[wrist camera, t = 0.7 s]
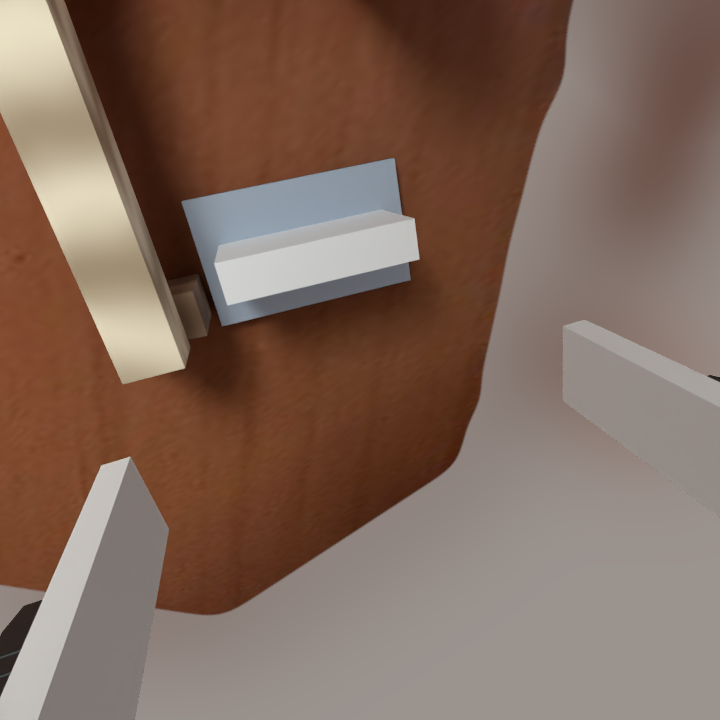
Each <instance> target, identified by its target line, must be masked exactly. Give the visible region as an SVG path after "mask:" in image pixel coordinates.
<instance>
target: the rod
mask: <svg viewBox="0 0 720 720" xmlns="http://www.w3.org/2000/svg"><path fill="white" fill-rule="evenodd" d="M0 112H1V115H2V117H3V119H4V121H5V124H6V126H7V128H8V130H9V132H10V135H11V137H12V139H13V141H14V144H15V146H16V148H17V150H18V152H19V155H20V157H21V159H22V161H23V164H24V166H25V168H26V170H27V172H28V175H29V177H30V179H31V181H32V184H33V186H34V188H35V190H36V192H37V195H38V197H39V199H40V201H41V204H42V206H43V208H44V210H45V212H46V215H47V217H48V219H49V221H50V224H51V226H52V228H53V230H54V232H55V235H56V237H57V239H58V241H59V244H60V246H61V248H62V250H63V253H64V255H65V257H66V259H67V261H68V264H69V266H70V268H71V270H72V273H73V275H74V277H75V279H76V281H77V284H78V286H79V288H80V290H81V293H82V295H83V297H84V299H85V301H86V304H87V306H88V308H89V310H90V313H91V315H92V317H93V319H94V321H95V324H96V326H97V328H98V330H99V333H100V335H101V337H102V339H103V341H104V344H105V346H106V348H107V350H108V353H109V355H110V357H111V359H112V361H113V364H114V366H115V368H116V370H117V373H118V375H119V377H120V379H121V382H122V384H126V383H130V382H134V381H138V380H141V379H145V378H149V377H153V376H157V375H161V374H165V373H169V372H173V371H176V370H180V369H184V368H185V367H186V363H187V359H188V355H189V352H190V348H191V347H190V344H189V341H188V339H187V336H186V333H185V331H184V328H183V325H182V322H181V320H180V317H179V314H178V311H177V309H176V306H175V303H174V300H173V298H172V295H171V292H170V289H169V287H168V284H167V281H166V278H165V276H164V273H163V270H162V267H161V265H160V262H159V259H158V256H157V254H156V251H155V248H154V246H153V243H152V240H151V237H150V235H149V232H148V229H147V226H146V224H145V221H144V218H143V215H142V213H141V210H140V207H139V204H138V202H137V199H136V196H135V193H134V191H133V188H132V185H131V182H130V180H129V177H128V174H127V171H126V169H125V166H124V163H123V161H122V158H121V155H120V152H119V150H118V147H117V144H116V141H115V139H114V136H113V133H112V130H111V128H110V125H109V122H108V119H107V117H106V114H105V111H104V108H103V106H102V103H101V100H100V97H99V95H98V92H97V89H96V86H95V84H94V81H93V78H92V76H91V73H90V70H89V67H88V65H87V62H86V59H85V56H84V54H83V51H82V48H81V45H80V43H79V40H78V37H77V34H76V32H75V29H74V26H73V23H72V21H71V18H70V15H69V12H68V10H67V7H66V4H65V1H64V0H0Z"/></svg>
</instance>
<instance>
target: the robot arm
mask: <svg viewBox="0 0 720 720" xmlns="http://www.w3.org/2000/svg"><path fill="white" fill-rule="evenodd" d="M563 401H564V402H565V403H567V404H568V405H569V406H570V407H572V408H573V409H574V410H576V411H577V412H578V413H580V414H581V415H582V416H584V417H585V418H587V419H588V420H589V421H591V422H592V423H593V424H595V425H596V426H597V427H599V428H600V429H601V430H603V431H604V432H605V433H607V434H608V435H609V436H611V437H612V438H613V439H615V440H616V441H618V442H619V443H620V444H621V445H623V446H624V447H626V448H627V449H628V450H629V451H631V452H632V453H634V454H635V455H636V456H638V457H639V458H640V459H642V460H643V461H644V462H646V463H647V464H648V465H650V466H651V467H652V468H654V469H655V470H656V471H658V472H659V473H660V474H662V475H663V476H664V477H666V478H667V479H669V480H670V481H671V482H672V483H674V484H675V485H677V486H678V487H679V488H681V489H682V490H683V491H685V492H686V493H687V494H689V495H690V496H691V497H693V498H694V499H696V500H697V501H698V502H699V503H701V504H702V505H703V506H705V507H706V508H707V509H709V510H710V511H711V512H713V513H714V514H715V515H717V516H718V517H720V377H716V376H712V375H709V376H705V375H703V374H701V373H698V372H696V371H694V370H692V369H690V368H688V367H686V366H684V365H681V364H679V363H677V362H675V361H673V360H671V359H668V358H666V357H664V356H662V355H660V354H658V353H656V352H653V351H651V350H649V349H647V348H645V347H643V346H641V345H638V344H636V343H634V342H632V341H630V340H628V339H625V338H623V337H621V336H619V335H617V334H615V333H613V332H610V331H608V330H606V329H604V328H602V327H600V326H598V325H595V324H593V323H591V322H589V321H587V320H582V321H578V322H575V323H571V324H568V325H565V326H563ZM168 532H169V528H168V527H167V525H166V523H165V521H164V519H163V517H162V515H161V513H160V512H159V510H158V508H157V506H156V504H155V502H154V500H153V498H152V496H151V495H150V493H149V491H148V489H147V487H146V485H145V483H144V481H143V479H142V478H141V476H140V474H139V472H138V470H137V468H136V466H135V464H134V463H133V461H132V459H131V457H128V458H125V459H121V460H118V461H115V462H111V463H108V464H105V465H102V466H101V468H100V470H99V472H98V474H97V477H96V479H95V481H94V484H93V486H92V488H91V491H90V493H89V495H88V497H87V500H86V502H85V504H84V507H83V509H82V511H81V513H80V516H79V518H78V520H77V523H76V525H75V527H74V529H73V532H72V534H71V536H70V539H69V541H68V543H67V546H66V548H65V550H64V552H63V555H62V557H61V559H60V562H59V564H58V566H57V568H56V571H55V573H54V575H53V578H52V580H51V582H50V584H49V587H48V589H47V591H46V594H45V596H44V598H43V600H40V601H38V602H35V603H32V604H28V605H26V606H23V608H22V609H21V610H20V611H19V613H18V614H17V615H16V616H15V617H14V619H13V620H12V621H11V622H10V623H9V625H8V626H7V627H6V628H5V629H4V631H3V632H2V634H1V636H0V720H135V716H136V710H137V705H138V699H139V693H140V688H141V682H142V676H143V671H144V666H145V660H146V655H147V649H148V643H149V638H150V632H151V627H152V621H153V616H154V610H155V605H156V599H157V593H158V588H159V582H160V577H161V571H162V566H163V560H164V555H165V549H166V543H167V538H168Z"/></svg>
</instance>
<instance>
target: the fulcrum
mask: <svg viewBox="0 0 720 720" xmlns="http://www.w3.org/2000/svg"><path fill="white" fill-rule="evenodd" d="M181 202H182V205H183V208H184V211H185V214H186V217H187V221H188V224H189V227H190V230H191V233H192V236H193V239H194V242H195V245H196V248H197V251H198V254H199V257H200V260H201V263H202V266H203V270H204V273H205V276H206V279H207V282H208V285H209V288H210V291H211V294H212V297H213V300H214V303H215V306H216V309H217V312H218V316H219V319H220V322H221V325H222V326H226V325H230V324H234V323H238V322H242V321H246V320H251V319H255V318H259V317H263V316H267V315H271V314H275V313H279V312H283V311H287V310H291V309H295V308H299V307H303V306H307V305H311V304H315V303H319V302H324V301H328V300H332V299H336V298H340V297H344V296H348V295H352V294H356V293H360V292H364V291H368V290H372V289H376V288H380V287H384V286H388V285H392V284H397V283H401V282H405V281H409V280H411V278H410V270H409V263H408V262H411V261H415V260H419V252H418V243H417V235H416V227H415V219H414V218H411V217H407V216H404V215H402V211H401V203H400V196H399V188H398V181H397V173H396V166H395V159H394V158H390V159H385V160H380V161H375V162H370V163H366V164H361V165H356V166H351V167H346V168H341V169H336V170H331V171H326V172H321V173H316V174H311V175H307V176H302V177H297V178H292V179H287V180H282V181H277V182H272V183H267V184H262V185H257V186H252V187H248V188H243V189H238V190H233V191H228V192H223V193H218V194H213V195H208V196H203V197H198V198H193V199H189V200H184V201H181Z"/></svg>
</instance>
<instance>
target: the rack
mask: <svg viewBox="0 0 720 720" xmlns="http://www.w3.org/2000/svg"><path fill="white" fill-rule="evenodd" d="M167 284H168V287H169V289H170V292H171V295H172V298H173V300H174V303H175V306H176V309H177V311H178V314H179V317H180V320H181V322H182V325H183V328H184V331H185V333H186V336H187V339H188V340H191V339H195V338H199V337H203V336H207V335H208V330H209V325H210V319H211V314H212V311H211V308H210V305H209V302H208V299H207V296H206V293H205V290H204V287H203V284H202V281H201V278H200V275H199V273H198V274H194V275H189V276H185V277H181V278H176V279H172V280H167Z"/></svg>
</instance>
